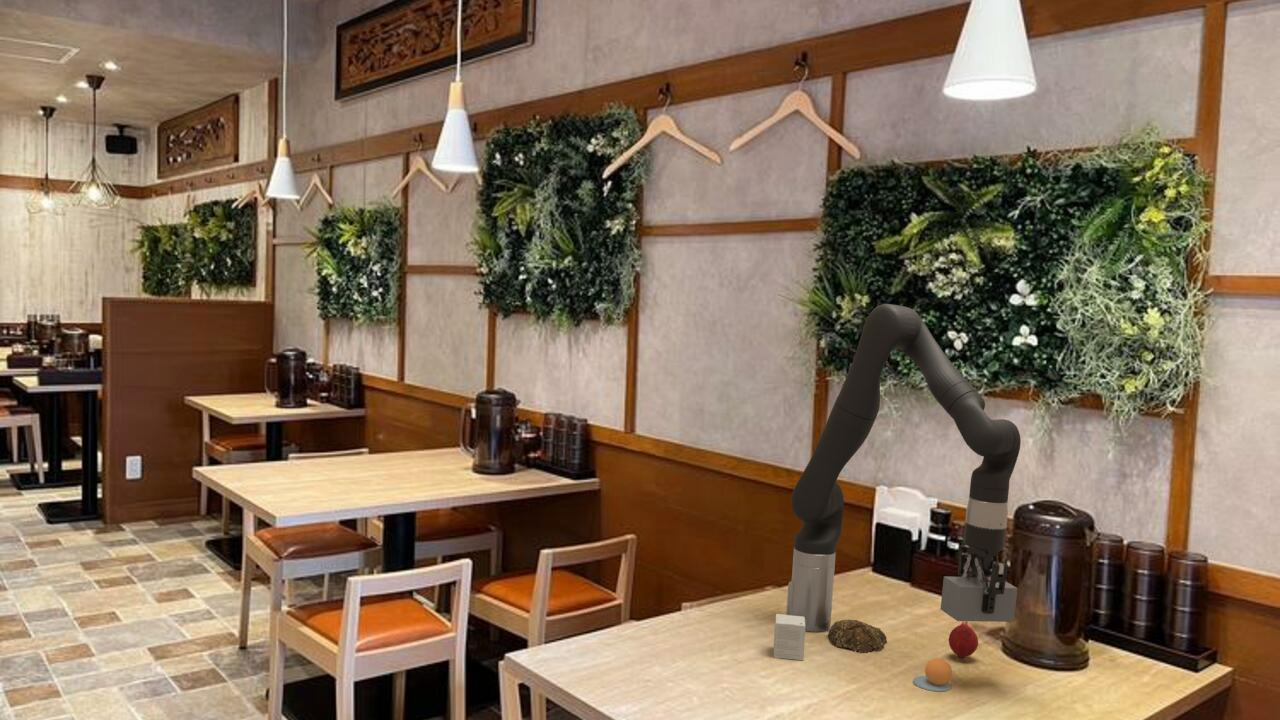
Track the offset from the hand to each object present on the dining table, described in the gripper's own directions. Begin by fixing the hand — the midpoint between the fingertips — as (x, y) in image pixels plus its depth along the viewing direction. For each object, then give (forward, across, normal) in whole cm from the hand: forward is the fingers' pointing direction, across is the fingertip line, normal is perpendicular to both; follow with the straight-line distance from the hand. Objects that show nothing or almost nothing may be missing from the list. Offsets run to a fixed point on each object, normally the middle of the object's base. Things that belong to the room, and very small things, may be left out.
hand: (977, 606), depth 186 cm
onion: (+15, +12, -5) cm, 20 cm away
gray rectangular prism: (+2, 0, 0) cm, 2 cm away
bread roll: (+16, +22, +14) cm, 31 cm away
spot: (+15, -1, +8) cm, 17 cm away
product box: (+16, +16, +32) cm, 39 cm away
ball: (+13, -1, +7) cm, 15 cm away
